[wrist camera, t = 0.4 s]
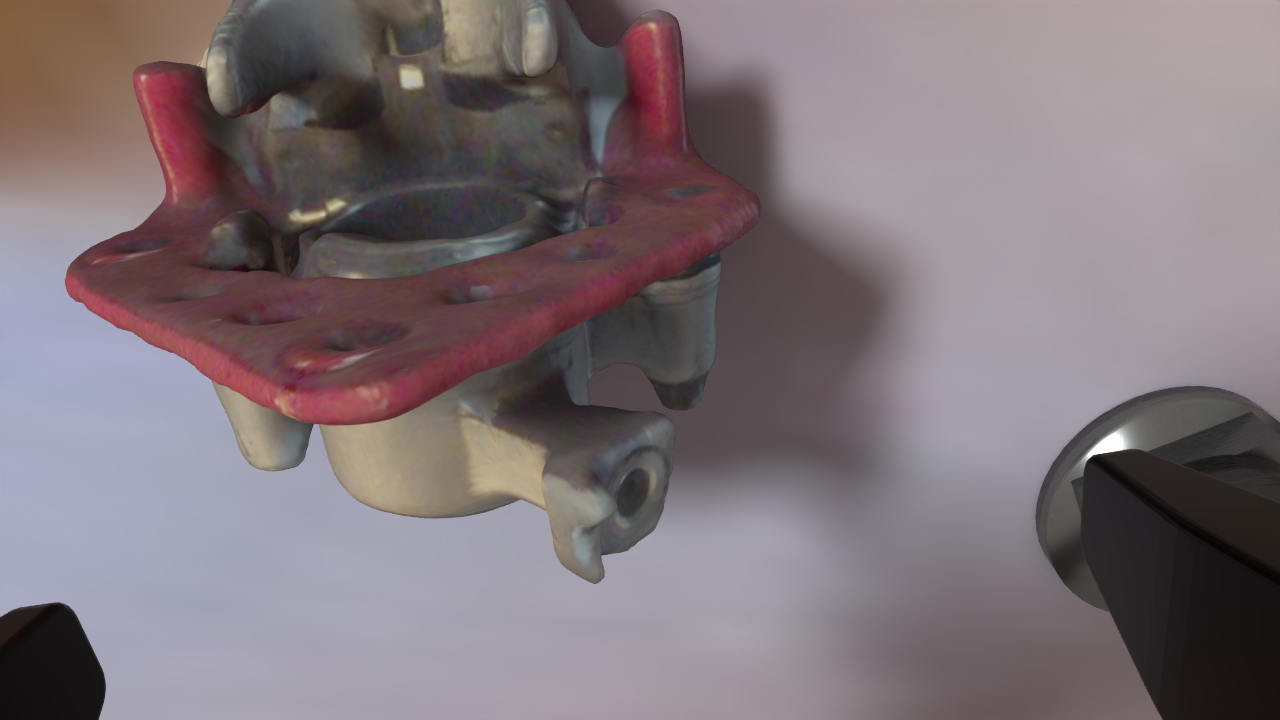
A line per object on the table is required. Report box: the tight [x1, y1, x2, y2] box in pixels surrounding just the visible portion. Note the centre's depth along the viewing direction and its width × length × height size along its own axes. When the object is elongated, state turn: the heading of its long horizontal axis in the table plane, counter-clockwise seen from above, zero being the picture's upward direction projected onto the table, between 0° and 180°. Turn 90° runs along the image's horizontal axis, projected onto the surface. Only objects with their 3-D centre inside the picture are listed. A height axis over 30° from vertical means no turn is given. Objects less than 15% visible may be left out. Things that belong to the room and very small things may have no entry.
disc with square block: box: [1036, 386, 1280, 612], centre depth 25 cm, size 6×6×2 cm
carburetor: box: [65, 0, 760, 584], centre depth 18 cm, size 11×11×12 cm
